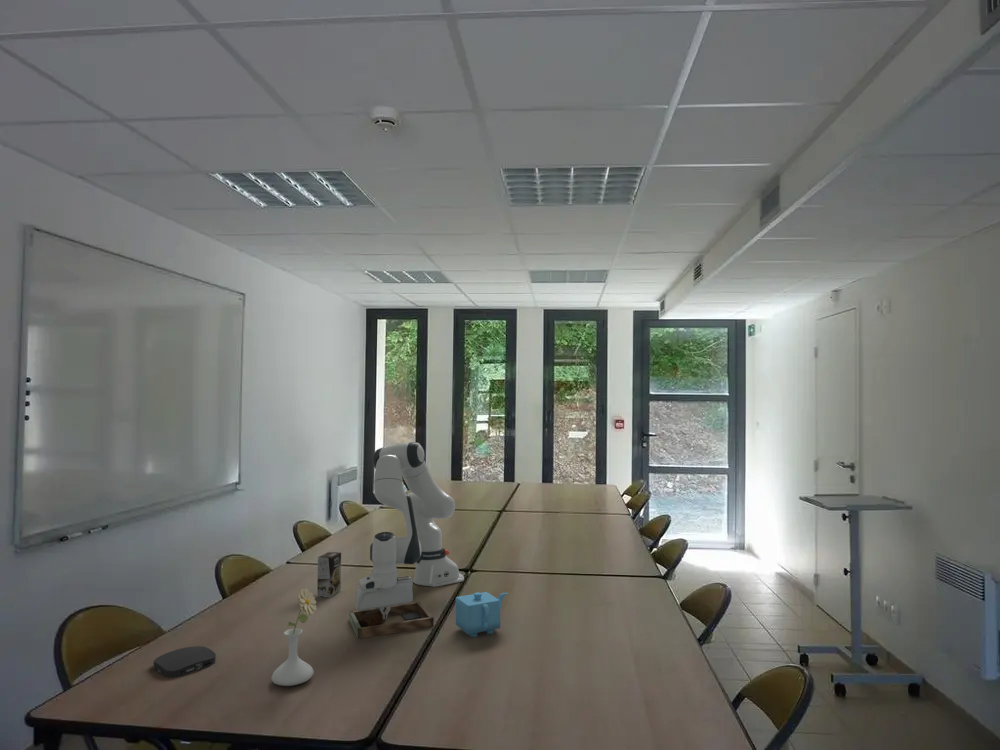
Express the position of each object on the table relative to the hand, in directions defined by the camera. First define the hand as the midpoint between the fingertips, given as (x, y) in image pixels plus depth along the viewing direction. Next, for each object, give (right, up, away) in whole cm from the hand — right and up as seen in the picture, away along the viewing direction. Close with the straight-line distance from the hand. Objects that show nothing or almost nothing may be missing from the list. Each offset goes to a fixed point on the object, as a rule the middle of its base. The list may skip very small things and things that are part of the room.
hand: (384, 618), depth 212 cm
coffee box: (-30, -4, +35) cm, 46 cm away
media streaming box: (-55, -2, -31) cm, 63 cm away
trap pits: (+10, -2, +5) cm, 11 cm away
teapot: (+36, -2, -4) cm, 36 cm away
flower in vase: (-18, -1, -42) cm, 45 cm away
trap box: (+2, -2, +2) cm, 3 cm away
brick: (-4, -2, -2) cm, 5 cm away
